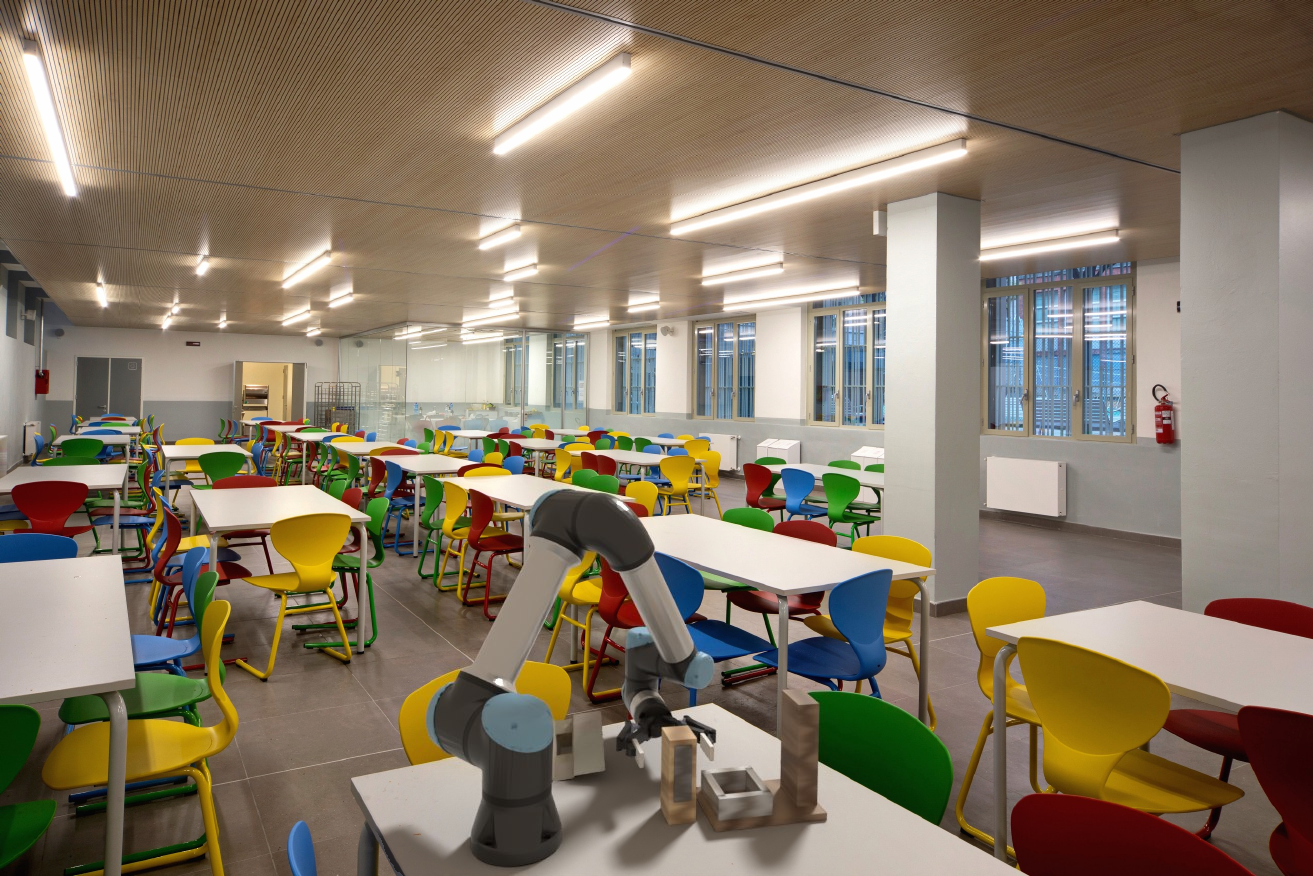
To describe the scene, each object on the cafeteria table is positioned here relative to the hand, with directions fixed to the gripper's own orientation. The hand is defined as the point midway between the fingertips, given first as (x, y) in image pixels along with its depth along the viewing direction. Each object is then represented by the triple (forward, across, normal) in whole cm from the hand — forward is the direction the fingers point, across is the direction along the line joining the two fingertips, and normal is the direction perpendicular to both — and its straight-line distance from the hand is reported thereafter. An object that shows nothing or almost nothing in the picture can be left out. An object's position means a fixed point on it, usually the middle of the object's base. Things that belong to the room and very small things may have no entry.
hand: (677, 757), depth 141 cm
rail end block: (+4, +1, -9) cm, 10 cm away
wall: (-19, +18, -9) cm, 28 cm away
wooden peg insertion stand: (+4, -15, -9) cm, 18 cm away
